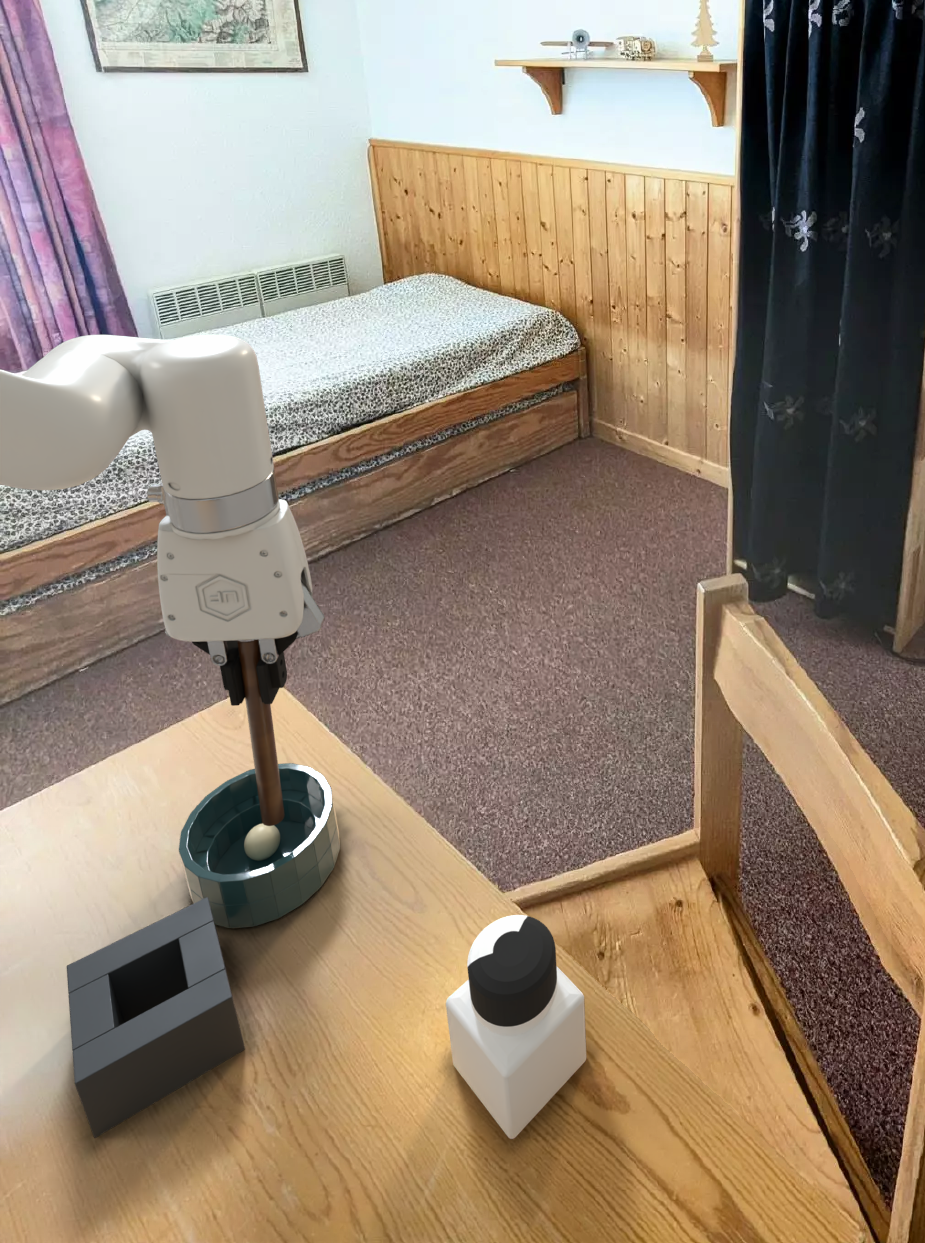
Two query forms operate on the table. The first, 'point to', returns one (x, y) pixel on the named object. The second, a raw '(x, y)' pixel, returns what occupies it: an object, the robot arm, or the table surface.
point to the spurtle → (261, 736)
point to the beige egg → (262, 842)
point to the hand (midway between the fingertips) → (258, 691)
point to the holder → (150, 1015)
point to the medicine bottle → (516, 1021)
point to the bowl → (273, 883)
